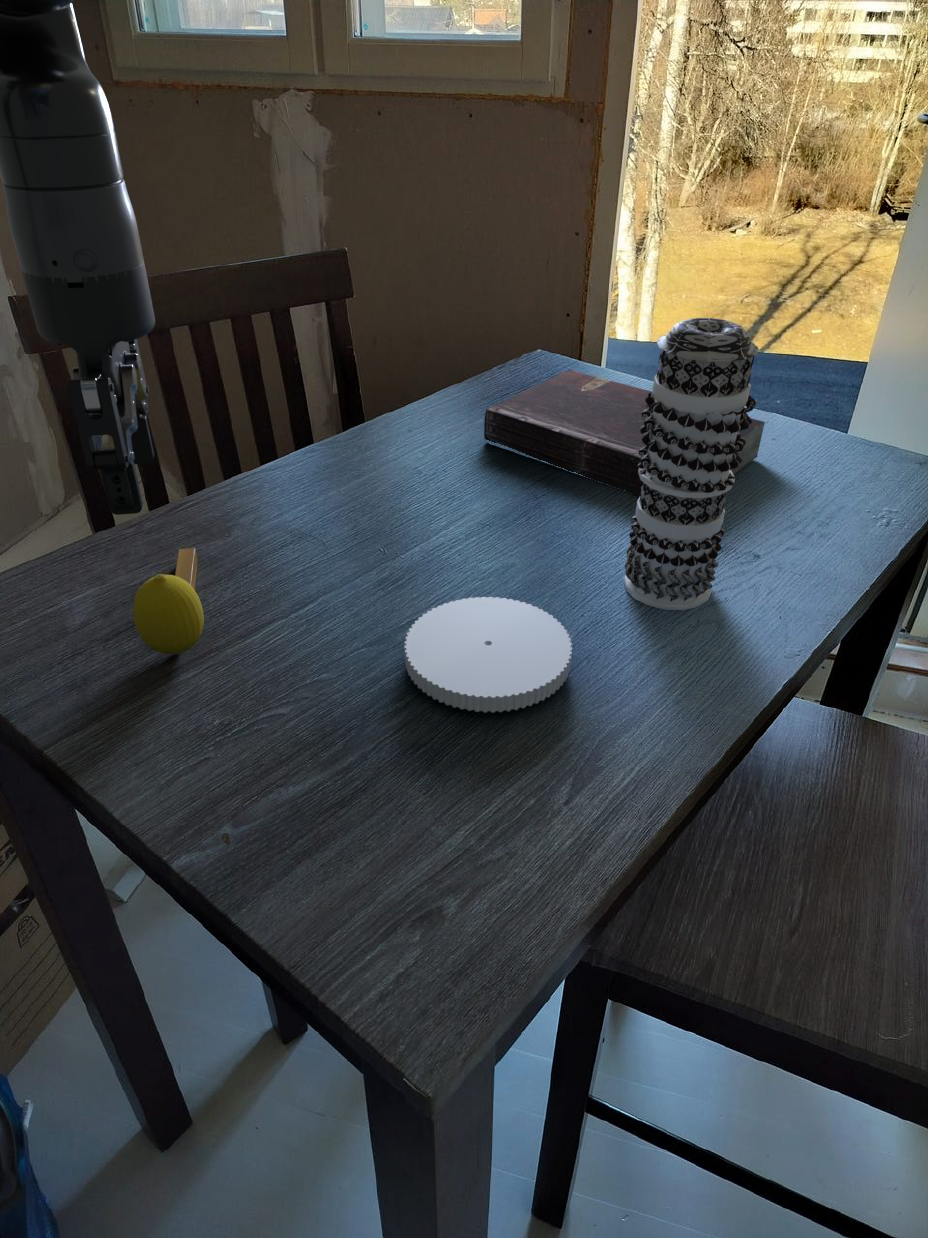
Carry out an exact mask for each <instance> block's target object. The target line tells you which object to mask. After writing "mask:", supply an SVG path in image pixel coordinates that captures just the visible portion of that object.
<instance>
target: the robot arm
mask: <svg viewBox="0 0 928 1238" xmlns="http://www.w3.org/2000/svg"><path fill="white" fill-rule="evenodd" d="M75 1H76V0H0V179H1V182H2V188H3V193H4V197H5V205H6V214H7V220H8V225H9V226H8V227H9V231H10V233H11V238H12V241H13V245H14V249H15V252H16V256H17V260H18V263H19V266H20V271H21V275H22V278H23V281H24V282H23V283H24V286H25V289H26V293H27V297H28V301H29V305H30V309H31V312H32V316H33V319H34V323H35V326H36V330H37V333H38V334H39V336H40V337H41V338H42V339H43V340H45V341H46V342H48V343H51V344H54V345H57V346H62V345H63V346H66V347H68V348H70V349H72V350H74V351H75V354H76V362H77V366H76V367H72V369H71V371H72V372H71V373H72V379H68V380H67V386H66V390H67V393H68V395H69V398H70V402H71V407H72V410H73V414H74V418H75V422H76V427H77V431H78V436H79V439H80V443H81V447H82V452H83V455H84V463H85V465H86V467H87V470H88V471H97V470H99V475H100V477H101V482H102V485H103V489H104V494H105V497H106V502H107V505H108V510H109V512H110V513H111V514H113V515H117V516H119V515H120V516H121V515H133V514H135V515H136V514H139V513H140V512H141V511H142V510H143V506H144V502H143V497H142V492H141V489H140V484H139V479H138V475H137V472H136V471H137V470H136V466H135V465H145V464H151V463H152V462H153V461H154V458H155V451H154V446H153V441H152V437H151V432H150V428H149V424H148V419H147V415H148V410H149V403H148V402H147V400H146V399H148V398H149V394H150V388H149V386H148V385H147V380H146V375H145V371H144V366H143V361H142V357H141V352H140V348H139V344H138V343H139V342H138V339H140V338H143V337H145V336H146V335H148V334H149V333H150V332H152V330H153V329H154V327H155V325H156V317H155V311H154V307H153V300H152V296H151V290H150V286H149V280H148V275H147V269H146V264H145V258H144V255H143V248H142V243H141V238H140V234H139V227H138V223H137V217H136V215H135V212H134V208H133V205H132V202H131V198H130V196H129V193H128V189H127V185H126V181H125V179H124V177H125V176H124V171H123V166H122V161H121V155H120V150H119V145H118V140H117V135H116V131H115V125H114V120H113V116H112V111H111V108H110V105H109V102H108V99H107V96H106V93H105V91H104V89H103V86H102V85H101V83H100V81H99V80H98V79H97V78H96V76H95V75H94V74H93V73H92V71H91V70H90V67H89V66H88V63H87V61H86V57H85V53H84V49H83V43H82V40H81V36H80V32H79V27H78V23H77V19H76V15H75V10H74V7H73V3H74V2H75ZM104 436H110V437H111V438H112V443H113V447H114V448H103V439H102V438H103V437H104Z"/></svg>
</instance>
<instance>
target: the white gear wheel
mask: <svg viewBox="0 0 928 1238" xmlns="http://www.w3.org/2000/svg"><path fill="white" fill-rule="evenodd" d="M403 646H404V647H403V648H404V662H405V663H404V665H405V667H406V672H407V675H408V676H409V677H410V680H411V681H413V684H414V685H415V686H416V685H417V688H418V689H419V690H421V692H422V693H426V696H428V697H432V700H438V702H439V703H444V704H445V706H452V708H454V709H455V708H459V710H462V711H463V710H467V711H469V712H471V711H474V712H476V713H479V712H482V713H488V712H490V713H496V712H499V713H503V712H504V711H506V712H511V710H514V711H518V710H519V709H520V708H521V709H525V708H526V707H527V706H528V707H531V706H533V704H535V705H538V704H539V703H540V701H541V702H544V701H545V700H546V698H550V697H551V695H555V694H556V691H559V690H560V687H562V686H563V685H564V683H565V682H566V681H567V678H568V677H569V674H570V672H571V668H572V657H573V643H572V639H571V637H570V634H569V633H568V630H567V629H566V627H565V626H564V625H562V622H561V621H558V619H557V618H556V617H554V615H553V614H550V613H549V612H548V611H544V609H543V608H539V607H538V606H537V605H534V606H533V605H532V603H527V602H525V601H522V602H521V601H520V600H519V599H516V600H514V599H513V598H509V599H508V598H507V597H500V596H496V597H493V596H489V597H486V596H482V597H479V596H475V597H472V596H471V597H468V598H465V597H464V598H461V599H455V601H453V600H451V601H448V602H447V603H446V602H444V603H442V604H441V605H437V607H433V608H431V610H427V611H426V613H422V614H421V616H419V617H418V618H417V620H414V623H413V624H411V626H410V627H409V628H408V632H407V633H406V636H405V638H404V645H403Z"/></svg>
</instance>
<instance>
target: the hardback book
mask: <svg viewBox="0 0 928 1238" xmlns="http://www.w3.org/2000/svg"><path fill="white" fill-rule="evenodd" d="M649 393H651V397H654V396H653V394H652V391H651V390H647V389H644V388H640V387H637V386H633V385H629V384H625V383H621V382H617V381H613V380H609V379H607V378H602V377H598V376H595V375H591V374H587V373H584V372H580V371H576V370H572V369H568V370H565V371H563V372H561V373H559V374H557V375H554V376H552V377H550V378H548V379H546V380H544V381H542V382H540V383H537V384H536V385H533V386H531V387H530V388H528V389H527V388H526V389H525V390H523V391H521V392H519V393H517V394H515V395H513V396H510V397H509V398H506V399H505V400H502V401H500V402H498V403H496V404H494V405H492V406H490V407H488V408H486V409H485V413H484V420H483V421H484V422H483V423H484V424H483V425H484V426H483V436H484V438H483V439H484V440H485V439H486V440H489V441H491V442H494V443H499V444H501V445H504V446H507V447H509V448H512V449H515V450H517V451H519V452H522V453H525V454H526V455H529V456H532V457H534V458H537V459H539V460H543V461H546V462H548V463H550V464H553V465H555V466H558V467H561V468H564V469H566V470H568V471H571V472H576V473H578V474H581V475H583V476H585V477H588V478H591V479H593V480H596V481H599V482H602V483H604V484H603V485H605V484H608V485H610V486H609V487H611V486H613V487H612V488H614V487H616V488H615V489H617V488H619V489H621V490H620V491H622V490H625V491H627V492H626V493H628V492H629V493H628V494H631V493H632V494H631V495H634V496H637V497H640V496H641V485H642V482H643V481H641V479H640V476H639V473H638V470H639V467H637V466H638V464H639V463H640V459H641V456H640V455H639V449H640V448H642V447H643V442H642V440H641V436H642V435H643V434H641V432H640V428H641V427H642V426H643V425H644V420H645V419H644V418H643V417H642V412H643V410H645V409H646V404H647V403H646V402H645V396H646V395H647V394H649ZM654 400H655V399H654ZM650 416H653V413H650ZM750 418H751V417H750ZM751 419H752V423H751V424H750V425H749V428H748V429H745V430H742V431H738V432H737V433H739V432H740V433H739V434H740V435H741V436H742V438H743V439H745V441H746V444H745V446H744V447H743V450H742V451H739V452H737V453H738V454H739V456H740V457H741V458H742V461H741V463H740V464H739V467H737V468H735V469H731V471H732V473H733V475H734V476H735V475H736V474H737V473H738V472H740V471H741V470H742V469H743V468H745V467H746V466H748V465H749V464H750V463H751V462H753V461H754V460H755V459H756V458H758V455H759V450H760V446H761V441H762V436H763V431H764V428H765V423H766V422H765V421H763V420H759V419H755V418H751ZM649 431H651V429H649ZM649 431H648V432H649ZM649 435H650V432H649ZM647 452H648V450H647ZM585 477H584V478H585ZM588 478H587V479H588ZM593 480H592V481H593ZM596 481H595V482H596ZM599 482H598V483H599ZM602 483H601V484H602ZM608 485H607V486H608ZM619 489H618V490H619ZM625 491H624V492H625Z"/></svg>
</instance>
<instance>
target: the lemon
mask: <svg viewBox="0 0 928 1238" xmlns="http://www.w3.org/2000/svg"><path fill="white" fill-rule="evenodd" d="M132 611H133V612H132V614H133V622H134V626H135V628H136V630H137V632H138V635H139V637H140V639H141V640H142V642H144V644H146V645H147V646H148V647H149V648H150V649H152V650H153V651H156V652H158V653H160V654H164V655H181V654H182V653H184V652H185V651H187V650H189V649H191V648H192V647H193V646H194V645H195V644H196V643H197V641H198V640H199V639H200V637H201V636H202V634H203V630H204V625H205V624H204V623H205V615H204V610H203V606H202V602H201V600H200V597H199V595H198V594H197V591H196V589H195V590H194V589H193V588H192V586H191V585H190V584H189V583H188V582H187V581H185V580H183V579H182V578H180V577H177V576H175V574H174V575H173V574H164V573H158V574H155V576H152V577H150V578H148V579H147V580H145V581H144V582H143V583H142V584H141V585H140V586H139V588H138V589H137V591H136V593H135V596H134V599H133V610H132Z"/></svg>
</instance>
